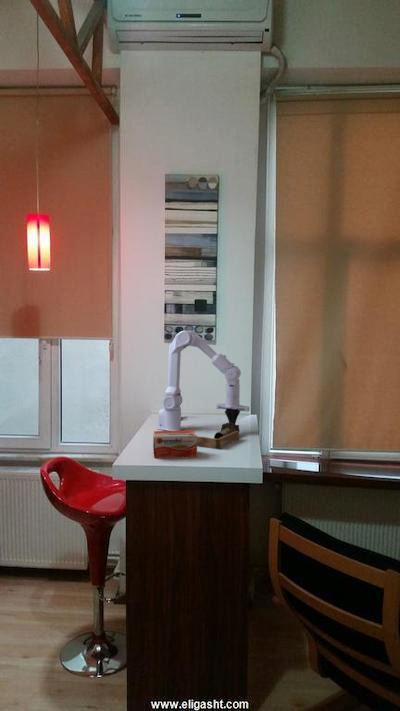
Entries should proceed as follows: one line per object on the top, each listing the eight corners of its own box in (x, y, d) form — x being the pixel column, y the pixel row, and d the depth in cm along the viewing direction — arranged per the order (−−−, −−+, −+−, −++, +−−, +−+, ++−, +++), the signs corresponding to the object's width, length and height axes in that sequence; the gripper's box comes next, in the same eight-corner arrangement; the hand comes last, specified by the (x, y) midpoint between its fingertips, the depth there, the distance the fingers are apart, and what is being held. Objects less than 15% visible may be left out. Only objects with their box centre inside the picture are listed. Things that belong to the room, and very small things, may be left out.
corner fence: (188, 444, 187) (188, 435, 187) (209, 435, 203) (209, 427, 203) (218, 449, 181) (219, 439, 181) (238, 439, 196) (238, 430, 196)
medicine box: (153, 458, 168) (153, 435, 168) (152, 452, 176) (152, 430, 176) (197, 457, 170) (197, 434, 170) (194, 451, 178) (194, 429, 178)
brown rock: (225, 444, 190) (225, 429, 189) (209, 442, 193) (209, 428, 192) (242, 434, 205) (242, 421, 205) (227, 433, 208) (227, 420, 208)
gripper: (213, 394, 207) (212, 426, 208) (244, 397, 200) (244, 430, 201) (220, 393, 213) (220, 423, 214) (251, 395, 206) (251, 427, 207)
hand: (232, 426), depth 208 cm, fingers closed
